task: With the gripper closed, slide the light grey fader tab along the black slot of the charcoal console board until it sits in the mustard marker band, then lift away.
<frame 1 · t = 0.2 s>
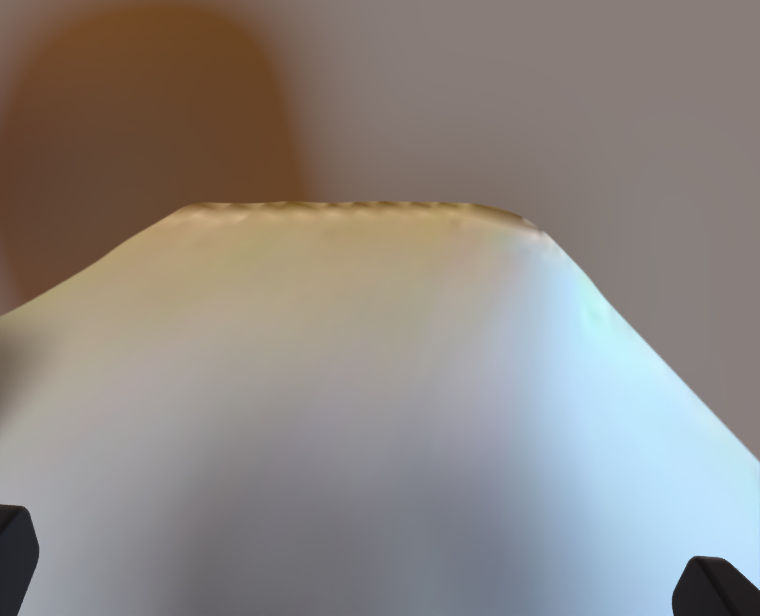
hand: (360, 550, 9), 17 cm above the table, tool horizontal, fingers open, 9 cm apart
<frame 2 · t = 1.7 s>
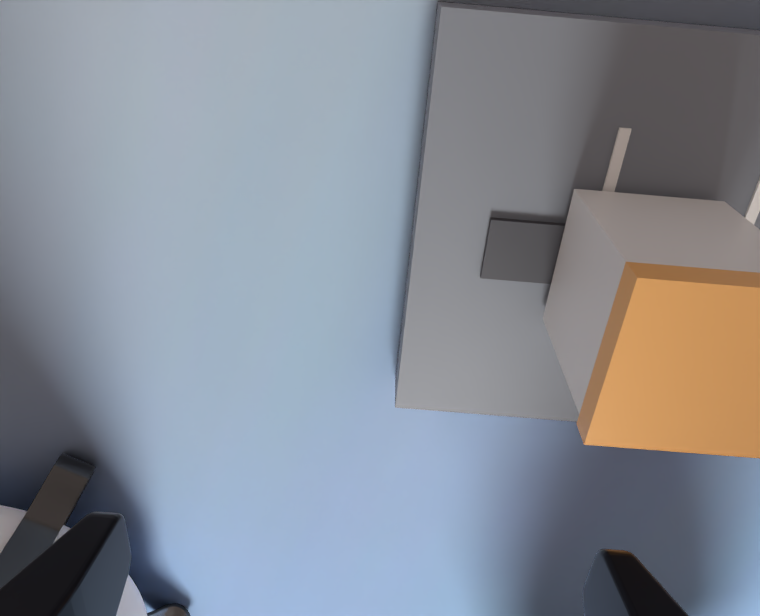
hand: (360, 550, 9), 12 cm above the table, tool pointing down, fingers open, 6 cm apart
fader: (662, 311, 15), point 4 cm above the table, slide at 7.0 cm
coffee press: (12, 565, 28), on the table
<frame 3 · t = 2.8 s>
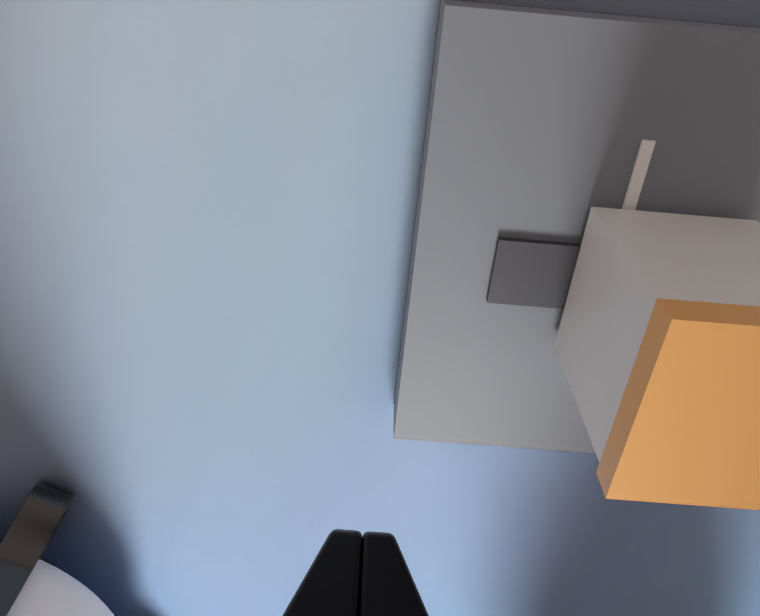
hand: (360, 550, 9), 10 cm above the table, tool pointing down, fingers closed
fader: (691, 344, 14), point 4 cm above the table, slide at 7.0 cm
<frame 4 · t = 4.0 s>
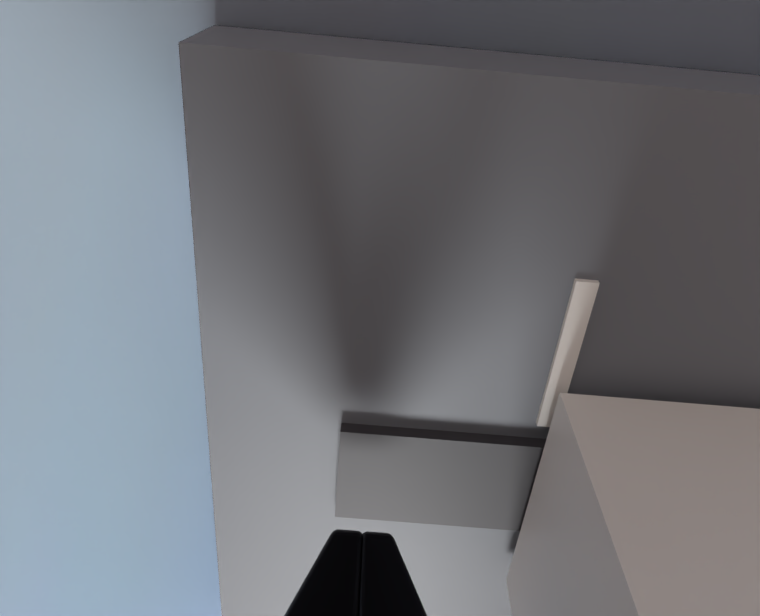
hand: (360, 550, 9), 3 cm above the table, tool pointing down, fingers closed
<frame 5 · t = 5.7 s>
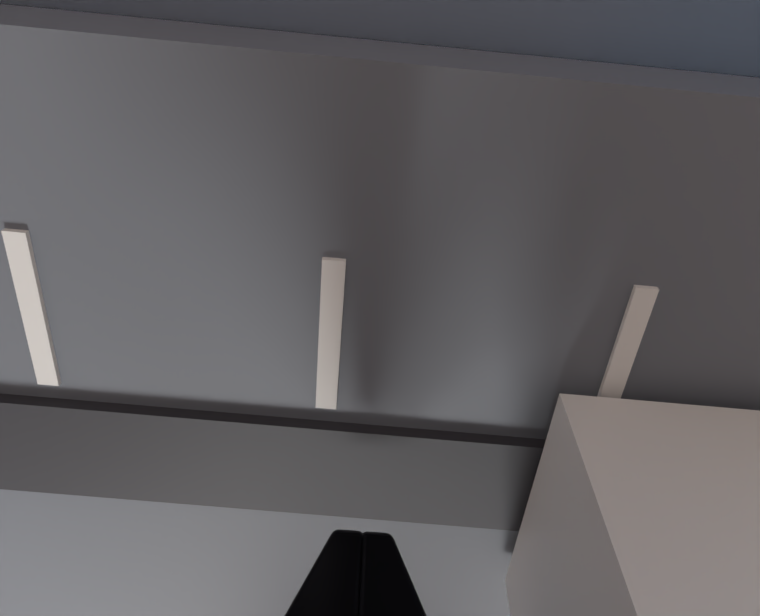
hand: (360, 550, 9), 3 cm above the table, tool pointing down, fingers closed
console board: (556, 422, 11), on the table
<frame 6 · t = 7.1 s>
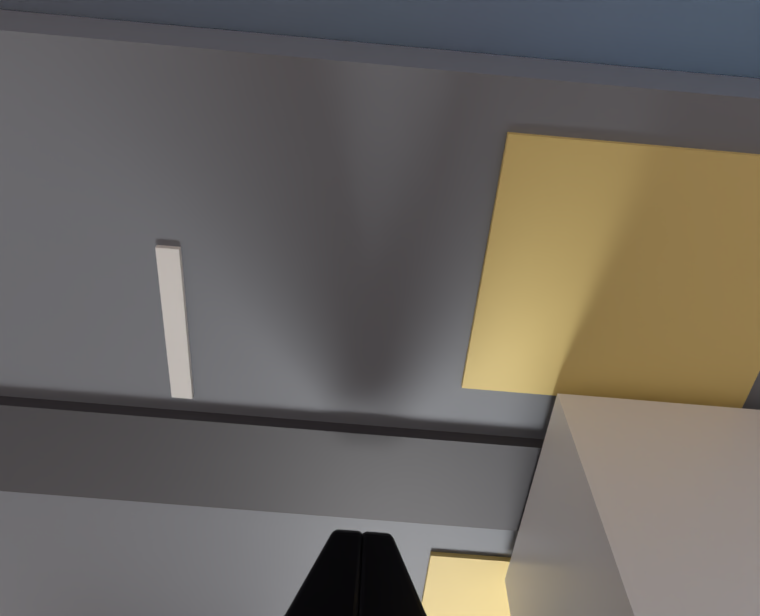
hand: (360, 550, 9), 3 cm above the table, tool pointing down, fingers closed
console board: (213, 395, 11), on the table
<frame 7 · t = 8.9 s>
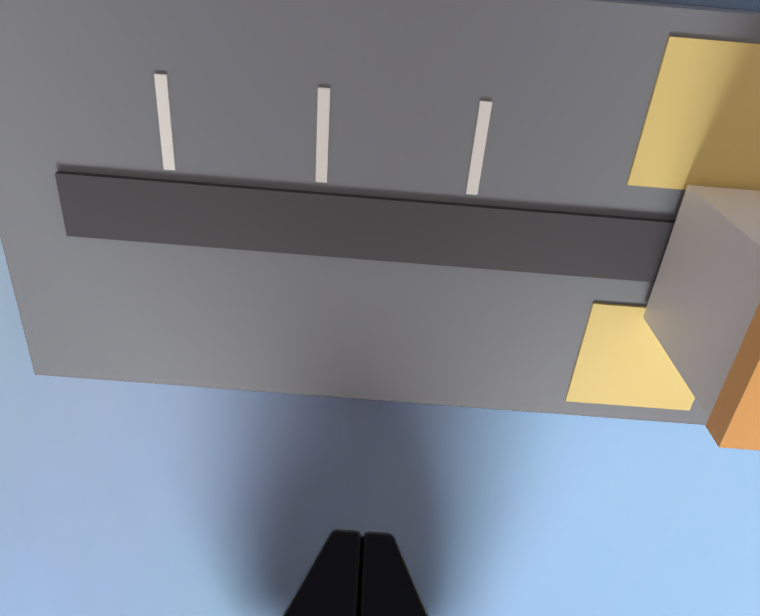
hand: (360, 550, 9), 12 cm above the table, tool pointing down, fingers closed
console board: (460, 214, 19), on the table
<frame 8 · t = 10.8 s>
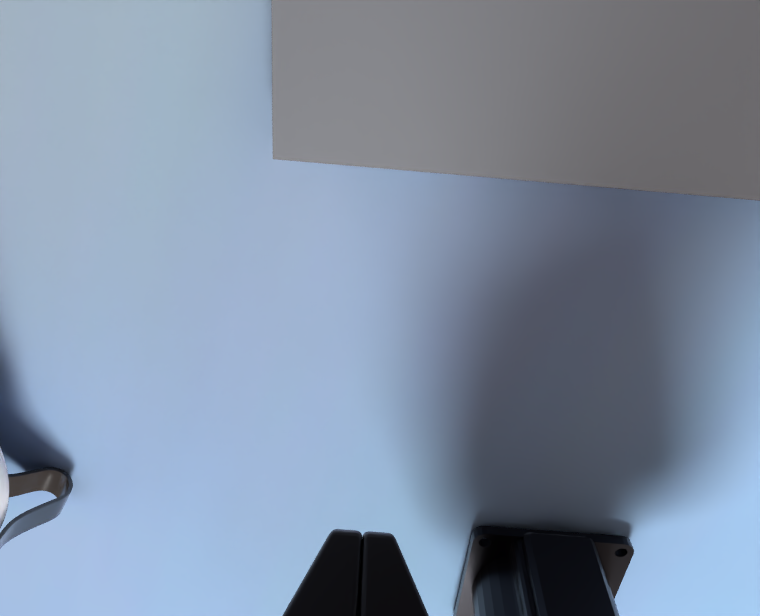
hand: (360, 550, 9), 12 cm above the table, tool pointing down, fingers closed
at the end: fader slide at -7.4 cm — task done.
